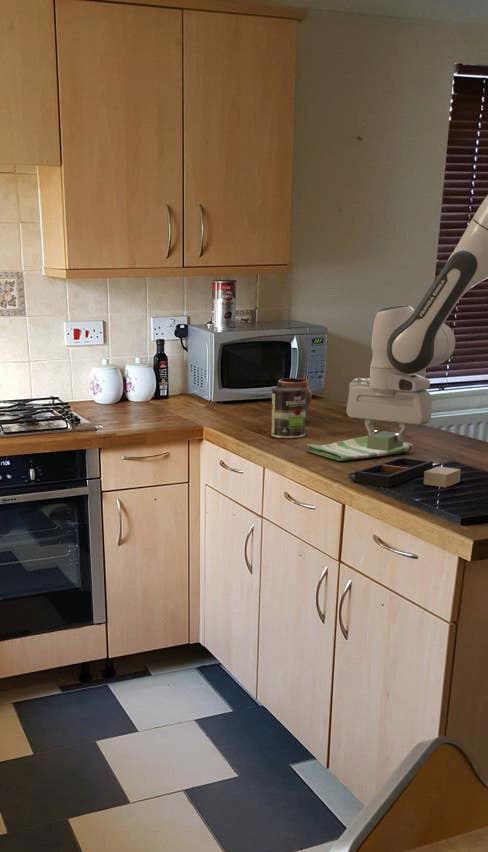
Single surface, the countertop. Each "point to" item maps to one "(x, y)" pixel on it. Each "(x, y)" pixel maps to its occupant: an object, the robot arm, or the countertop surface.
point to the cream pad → (442, 476)
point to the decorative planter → (297, 383)
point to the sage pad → (383, 441)
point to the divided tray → (393, 471)
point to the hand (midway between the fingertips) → (385, 440)
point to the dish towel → (353, 449)
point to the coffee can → (288, 412)
